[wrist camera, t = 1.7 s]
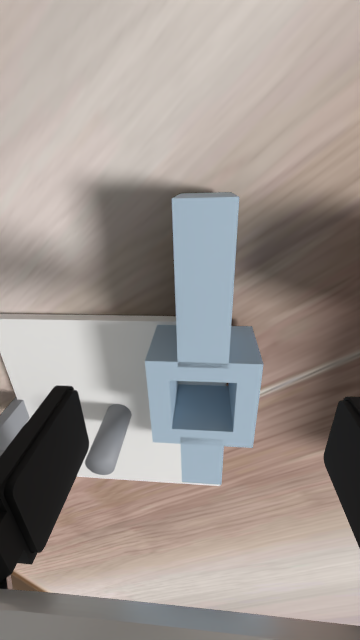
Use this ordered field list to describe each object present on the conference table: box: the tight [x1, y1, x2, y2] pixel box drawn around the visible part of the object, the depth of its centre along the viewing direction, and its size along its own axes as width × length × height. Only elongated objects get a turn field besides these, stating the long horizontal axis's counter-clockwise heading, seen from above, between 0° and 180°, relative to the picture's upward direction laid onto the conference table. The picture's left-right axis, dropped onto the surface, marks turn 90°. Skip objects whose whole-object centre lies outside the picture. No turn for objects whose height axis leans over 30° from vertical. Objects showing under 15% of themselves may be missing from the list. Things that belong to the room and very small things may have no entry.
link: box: [145, 192, 263, 485], centre depth 20 cm, size 21×7×5 cm, turn 1°
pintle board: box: [0, 314, 226, 486], centre depth 24 cm, size 20×20×8 cm
